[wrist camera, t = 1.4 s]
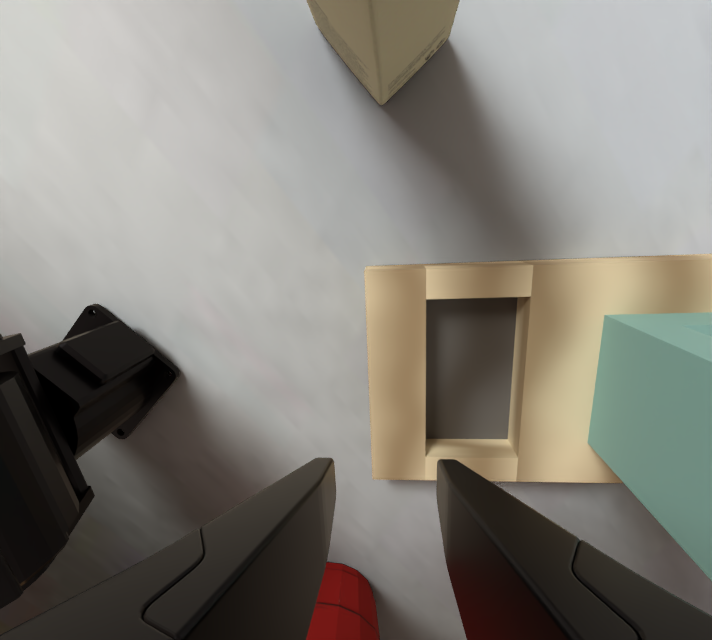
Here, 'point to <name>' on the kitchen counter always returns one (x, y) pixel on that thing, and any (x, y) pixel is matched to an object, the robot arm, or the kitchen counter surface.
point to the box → (384, 37)
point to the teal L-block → (660, 419)
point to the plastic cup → (344, 607)
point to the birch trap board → (504, 359)
